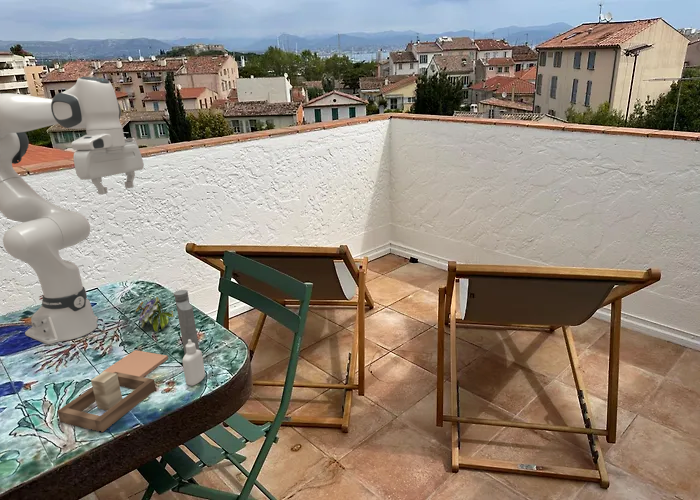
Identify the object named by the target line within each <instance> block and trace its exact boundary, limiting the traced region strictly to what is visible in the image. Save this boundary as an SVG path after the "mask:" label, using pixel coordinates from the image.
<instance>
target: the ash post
mask: <svg viewBox="0 0 700 500" xmlns="http://www.w3.org/2000/svg"><path fill="white" fill-rule="evenodd" d="M103 371H104V370H103ZM103 371H102V372H101V373H100V374H98V375H96V376H95V377H94V378H92V379H91V380H90V383H91V386H92V387H93V391H94V395H95V399H96V401H95V403H96V407H97V409H99V410H103V411H105V412H106V411H107V410H109V409H110V408H111V407H113V406H114V405H115V404H117V403H118V402H119V401H121V400H122V399H123V394H122V391H121V386H120V385H119V381H118V376H117V374H116V373H111V372H106V371H104V372H103ZM92 387H91V388H92Z"/></svg>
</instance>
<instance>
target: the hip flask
mask: <svg viewBox="0 0 700 500" xmlns="http://www.w3.org/2000/svg"><path fill="white" fill-rule="evenodd" d="M173 297H174V298H175V299H174V300H175V305H176V310H177V311H176V312H177V317H178V323H179V329H180V336H181V341H182V346H183V351H184V352H183V353H184V355H185V354H186V347H185V345H186V344H188V340H189V339H191V341H192V343H195V346H196V350H200V347H199V340H198V333H197V332H198V331H197V327H196V326H197V325H196V321H195V314H194V308H193V305H191V303H190V299H189V292H188V290H187V289H180V290H176V291H175V292H173Z"/></svg>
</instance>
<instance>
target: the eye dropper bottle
mask: <svg viewBox="0 0 700 500" xmlns="http://www.w3.org/2000/svg"><path fill="white" fill-rule="evenodd" d="M185 347H186V354H185V353H184V356H183V358H182V367H183V368H182V369H183V373H184V379H185V384H186V385H187V386H195V385H197V384H200V383H201V381H203V379H204V378H205V377H206V370H205V365H204V358H203V352H202V350H200V349H199V350H196V346H195V343H192V341H191V339H189V340H188V344H186V345H185Z"/></svg>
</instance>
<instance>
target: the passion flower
mask: <svg viewBox="0 0 700 500" xmlns="http://www.w3.org/2000/svg"><path fill="white" fill-rule="evenodd" d="M143 303H144V301H142V302H140V303H139V305H137V308H136V309H135V313H138V312H139V311H140V310H141V312H140V314H138V316H139V317H138V318H139V319H138V322H139V323H140V324H141V326H140V328H141V329H143V328H146V325H147V323H148V322H149V324H151V325H152V327H153V328H152V329H153V330H154V332H156V333H159V327H161V330H164V328H165V327H166V326H168V323H170V320H169V319H170V318H174V317H175V316H174V310H170V311H164V309H163V307H162V303H161V300H160V298H159V297H158V296H156V298H155V299H154V298H153V299H150V300H148V301H147V303H145V305H144V304H143ZM143 305H144V306H143Z"/></svg>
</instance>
